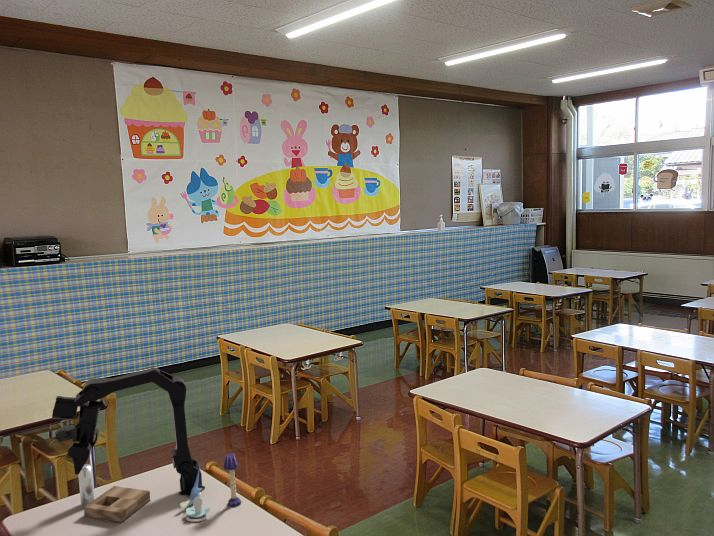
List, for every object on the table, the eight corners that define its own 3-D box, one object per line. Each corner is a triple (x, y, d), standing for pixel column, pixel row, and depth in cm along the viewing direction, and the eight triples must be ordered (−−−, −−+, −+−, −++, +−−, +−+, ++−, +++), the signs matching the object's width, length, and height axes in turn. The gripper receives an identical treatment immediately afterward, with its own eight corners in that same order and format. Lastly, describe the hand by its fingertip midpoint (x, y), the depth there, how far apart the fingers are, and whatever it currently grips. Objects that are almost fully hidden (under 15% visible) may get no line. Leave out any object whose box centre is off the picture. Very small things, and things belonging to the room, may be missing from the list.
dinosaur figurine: (191, 512, 195) (178, 510, 186) (200, 464, 201) (188, 460, 193) (199, 513, 194) (186, 511, 186) (208, 465, 200) (196, 461, 192)
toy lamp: (237, 508, 189) (234, 458, 187) (223, 507, 190) (220, 457, 188) (243, 500, 193) (240, 451, 191) (229, 499, 194) (226, 451, 192)
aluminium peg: (97, 502, 196) (93, 464, 194) (88, 508, 192) (84, 470, 190) (87, 500, 197) (83, 463, 195) (78, 506, 193) (74, 468, 192)
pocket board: (150, 500, 195) (149, 490, 195) (121, 523, 182) (120, 512, 182) (115, 495, 199) (114, 486, 199) (84, 517, 186) (83, 506, 186)
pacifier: (205, 523, 181) (211, 512, 187) (204, 504, 180) (210, 494, 186) (182, 523, 181) (189, 512, 187) (180, 504, 181) (187, 494, 186)
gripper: (66, 408, 193) (58, 454, 194) (53, 427, 175) (44, 478, 176) (102, 411, 196) (95, 457, 197) (93, 431, 178) (84, 481, 179)
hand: (79, 468), depth 187 cm, fingers open, 9 cm apart
